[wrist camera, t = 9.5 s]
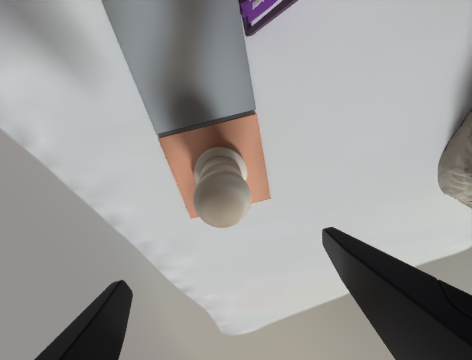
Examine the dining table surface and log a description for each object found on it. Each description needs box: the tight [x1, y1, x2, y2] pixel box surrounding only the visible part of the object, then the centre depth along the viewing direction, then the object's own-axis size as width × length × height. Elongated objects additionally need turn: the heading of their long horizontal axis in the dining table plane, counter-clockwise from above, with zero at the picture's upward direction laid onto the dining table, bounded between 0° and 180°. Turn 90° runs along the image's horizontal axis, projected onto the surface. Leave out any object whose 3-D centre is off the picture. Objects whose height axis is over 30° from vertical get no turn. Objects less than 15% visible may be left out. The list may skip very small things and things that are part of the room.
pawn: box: [193, 146, 251, 228], centre depth 14 cm, size 5×5×7 cm
